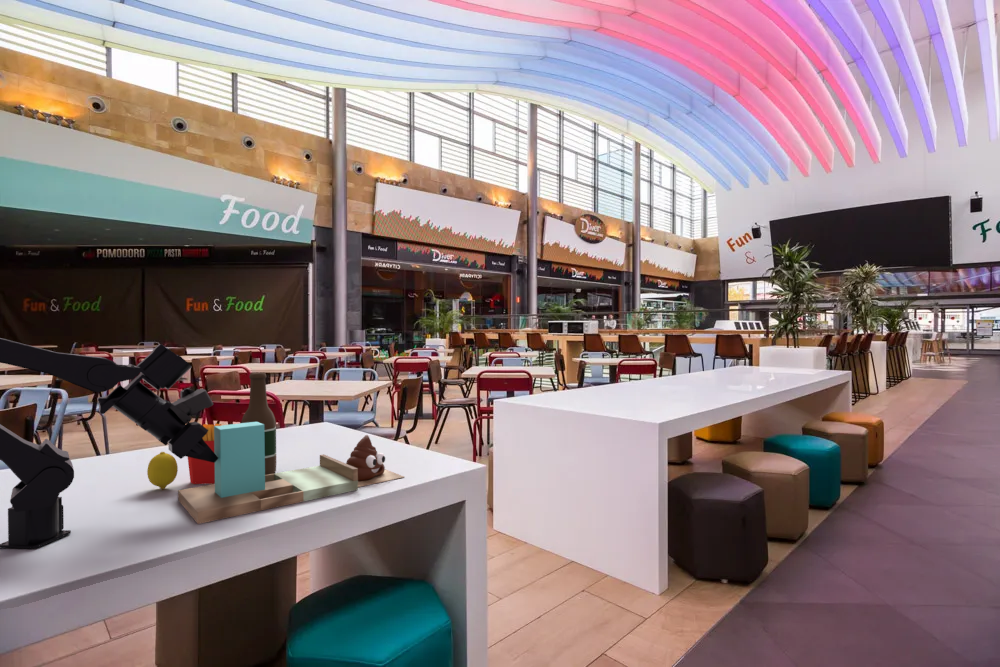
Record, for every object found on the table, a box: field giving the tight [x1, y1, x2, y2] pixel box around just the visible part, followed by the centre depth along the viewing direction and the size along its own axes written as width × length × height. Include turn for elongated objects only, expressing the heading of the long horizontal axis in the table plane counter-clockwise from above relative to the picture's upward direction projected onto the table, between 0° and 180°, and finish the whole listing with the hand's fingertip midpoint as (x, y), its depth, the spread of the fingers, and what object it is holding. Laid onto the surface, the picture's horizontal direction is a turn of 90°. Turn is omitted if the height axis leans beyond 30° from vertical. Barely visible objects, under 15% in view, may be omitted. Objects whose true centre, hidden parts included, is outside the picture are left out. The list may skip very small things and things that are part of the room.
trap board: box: [177, 454, 359, 525], centre depth 110 cm, size 30×18×4 cm, turn 130°
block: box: [214, 422, 265, 498], centre depth 107 cm, size 8×5×13 cm, turn 130°
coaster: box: [358, 468, 405, 488], centre depth 123 cm, size 13×13×1 cm
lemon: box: [146, 451, 179, 490], centre depth 116 cm, size 6×6×8 cm
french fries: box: [187, 423, 222, 485], centre depth 121 cm, size 9×4×13 cm, turn 90°
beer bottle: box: [240, 372, 277, 475], centre depth 126 cm, size 8×8×24 cm
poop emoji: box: [345, 434, 386, 481], centre depth 123 cm, size 10×8×9 cm
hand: (216, 460), depth 104 cm, fingers closed, pressing on block
